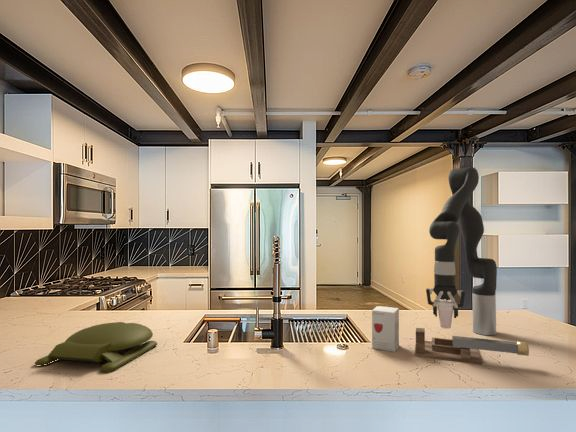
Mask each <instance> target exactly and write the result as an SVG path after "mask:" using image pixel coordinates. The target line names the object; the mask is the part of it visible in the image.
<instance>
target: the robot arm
mask: <svg viewBox="0 0 576 432" xmlns="http://www.w3.org/2000/svg"><path fill="white" fill-rule="evenodd" d="M479 177H480V176H479V172H478V170H477V168H476V167H473V166H470V167H469V166H468V167H462V168H454V169H452V170H450V171H449V173H448V178H447V179H448V183H449V184H448V185H449V188H450V191H451V196H450V197H449V198H448V199H447V200H446V201H445V203H444V204H443V207H442V210H441V212H440V213H439V214H438V215H437V216H436V217H435V218H434V220H432V222H431V224H430V226H429V230H428V231H429V235H430V237H431V238H432V239H434V240H446V242H445V243H444V244H442V245H438V246H435V248H434V266H433V269H434V270H433V274H434V278H433V279H434V280H433V281H434V283H433V284H434V286H433V288H429V287H428V288H426V289H425V292H426V299H427V304H428V305H430V306H432V314H433V315H434V317H438V306H437V303H438V302H439V300H448V301H452V303H454V306H453V318H454V319H457V317H458V316H459V308H463V307H464V303H465V294H466V292H465V290H463V289H462V290H458V289H457V287H456V286H457V285H456V284H457V283H456V280H457V279H456V273H457V270H456V264H455V257H456V256H455V250H456V245H457V241H458V238H459V234H460V233H461V236H462V239H463V245H464V251H465V260H466V267H467V268H466V269H467V272H468V274H469V276H470V277H471V278H475V279H480V280H481V279H482V280H483V283H481V284H478V285H474V286H473V287H472V288H471V293H472V294H471V295H472V296H471V297H472V332H473V333H475V334H477V335H484V336H494V335H497V304H496V303H497V300H496V298H497V297H496V294H497V293H496V291H497V280H498V279H497V275H498V266H497V262H496V261H495V260H494V259H492V258H485V257H484V258H483V257H479V255H478V246H479V243H480V241H481V239H482V238H483V235H484V232H485V226H484V221H483V217H482V215H481V214H480V212H479V211H478V209H476V207H475V206H474V205H472V204H471V203H470V202H469V201H468V200H469V199H470V197H471V196H472V194H473V193H474V191H475V189H476V188H477V186H478V184H479V179H480V178H479ZM458 223H459V224H458ZM433 293H434V294H435V295H436V296H435V299H434V300H433V301H432V297H431V295H433ZM457 294H458V296H459V303H457V301H456V300H455V298H454V297H455V295H457Z"/></svg>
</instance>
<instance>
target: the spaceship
mask: <svg viewBox="0 0 576 432" xmlns="http://www.w3.org/2000/svg"><path fill="white" fill-rule="evenodd" d="M153 336H154V334H153V331H152V329H150V328H149V327H148V326H146V325H143V324H141V323H136V322H121V321H118V322H115V321H114V322H106V323H105V322H104V323H101V324H96V325H91V326H90V327H86V328H83V329H81V330H78V331H76V332H73V334H71V335H70V336H68V337H67V338H66V339H65V341H64V342H61V343H58V344H56V345H55V346H54V348H53V349H52V350H51V351H50V352H49V353H48V355H46V356H43V357H41V358H38V359H37V360H36V361H35V362H34V365H35V364H36V365H44V364H48V363H50V362H52V361H55V360H57V359H60V360H66V361H67V360H68V361H75V362H76V361H77V362H78V361H79V362H80V361H81V362H89V363H90V362H91V363H101V362H102V363H103V362H104V361H105V360H106V361H107V362H106V363H104V364H102V365H101V366H100V368H99V369H100V371H101V372H102V371H103V373H109V372H108V371H112V372H114V371H116V370H118V369H120V368H121V367H123V366H125V365H126V364H128V363H130V362H131V361H133V360H134V358H135V359H136V357H137V356H138V357H140V356H142V355H143V354H142V353H144V352H145V353H147V352H148V351H147V350H149V349H150V350H152V349H153V348H152V347H154V346H156V345H157V346H158V342H157V341H156V340H151V339H152V338H153ZM157 346H156V347H157ZM133 347H135V348H133ZM129 348H132V349H131V350H129V351H126V352H125V353H123V354H121V353H119V352H117V351H120V350H126V349H129ZM151 348H152V349H151ZM154 348H155V347H154ZM150 350H149V351H150ZM146 351H147V352H146ZM145 353H144V354H145ZM141 354H142V355H141ZM139 355H140V356H139ZM138 357H137V358H138ZM132 359H133V360H132ZM130 360H131V361H130ZM129 361H130V362H129ZM127 362H128V363H127ZM125 363H126V364H125ZM124 364H125V365H124ZM36 365H35V366H36ZM122 365H123V366H122ZM120 366H121V367H120ZM117 368H118V369H117ZM115 369H116V370H115ZM113 370H114V371H113Z"/></svg>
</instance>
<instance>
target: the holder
mask: <svg viewBox="0 0 576 432" xmlns="http://www.w3.org/2000/svg"><path fill="white" fill-rule="evenodd" d="M425 330H426V329H425V328H424V327H423V328H422V327H416V328H415V347H414V357H422V358H429V359H437V360H445V361H451V362H452V361H453V362H462V363H470V364H478V365H483V360H482V358H481V355H480V353H479V349H471V348H462V347H453V344H452V338H451V339H450V338H440V337H431V340H426V338H425V336H426V335H425V334H426V333H425V332H426V331H425Z"/></svg>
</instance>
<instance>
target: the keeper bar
mask: <svg viewBox="0 0 576 432" xmlns="http://www.w3.org/2000/svg"><path fill="white" fill-rule="evenodd" d="M451 340H452V344H453V347H462V348H471V349H477V350H479V351H480V350H481V351H491V352H499V353H500V352H501V353H506V354H508V353H509V354H516V355H518V356H527V357H529V356H530V348H529V342H528V341H518V340H516V341H509V340H496V339H488V338H478V337H468V336H460V335H459V336H458V335H452V338H451Z"/></svg>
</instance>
